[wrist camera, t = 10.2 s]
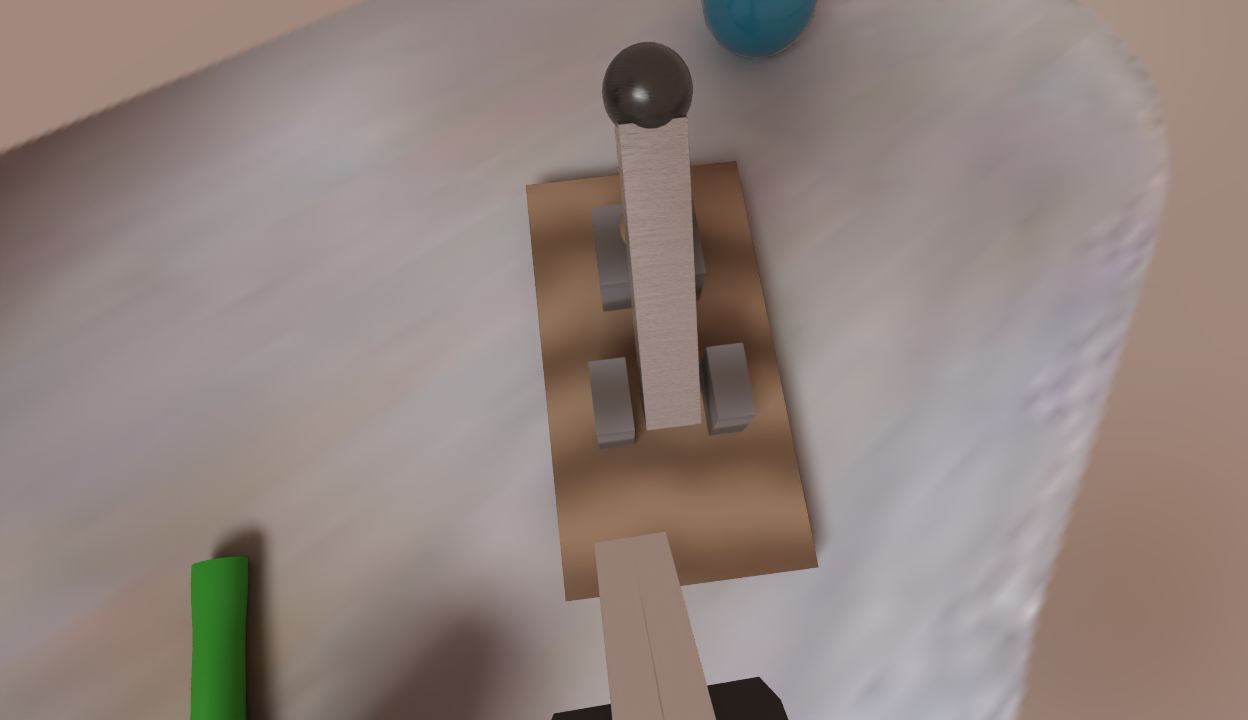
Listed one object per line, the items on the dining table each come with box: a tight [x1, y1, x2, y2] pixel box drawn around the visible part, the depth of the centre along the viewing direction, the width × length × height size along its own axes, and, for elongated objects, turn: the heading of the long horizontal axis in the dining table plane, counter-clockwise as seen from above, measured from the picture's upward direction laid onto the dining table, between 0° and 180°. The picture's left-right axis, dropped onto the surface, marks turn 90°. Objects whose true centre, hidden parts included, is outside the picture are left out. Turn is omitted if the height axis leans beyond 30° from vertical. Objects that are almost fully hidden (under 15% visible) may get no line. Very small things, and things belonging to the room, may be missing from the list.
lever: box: [602, 42, 701, 430], centre depth 34 cm, size 4×4×19 cm
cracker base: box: [526, 161, 818, 601], centre depth 39 cm, size 26×14×9 cm, turn 7°
